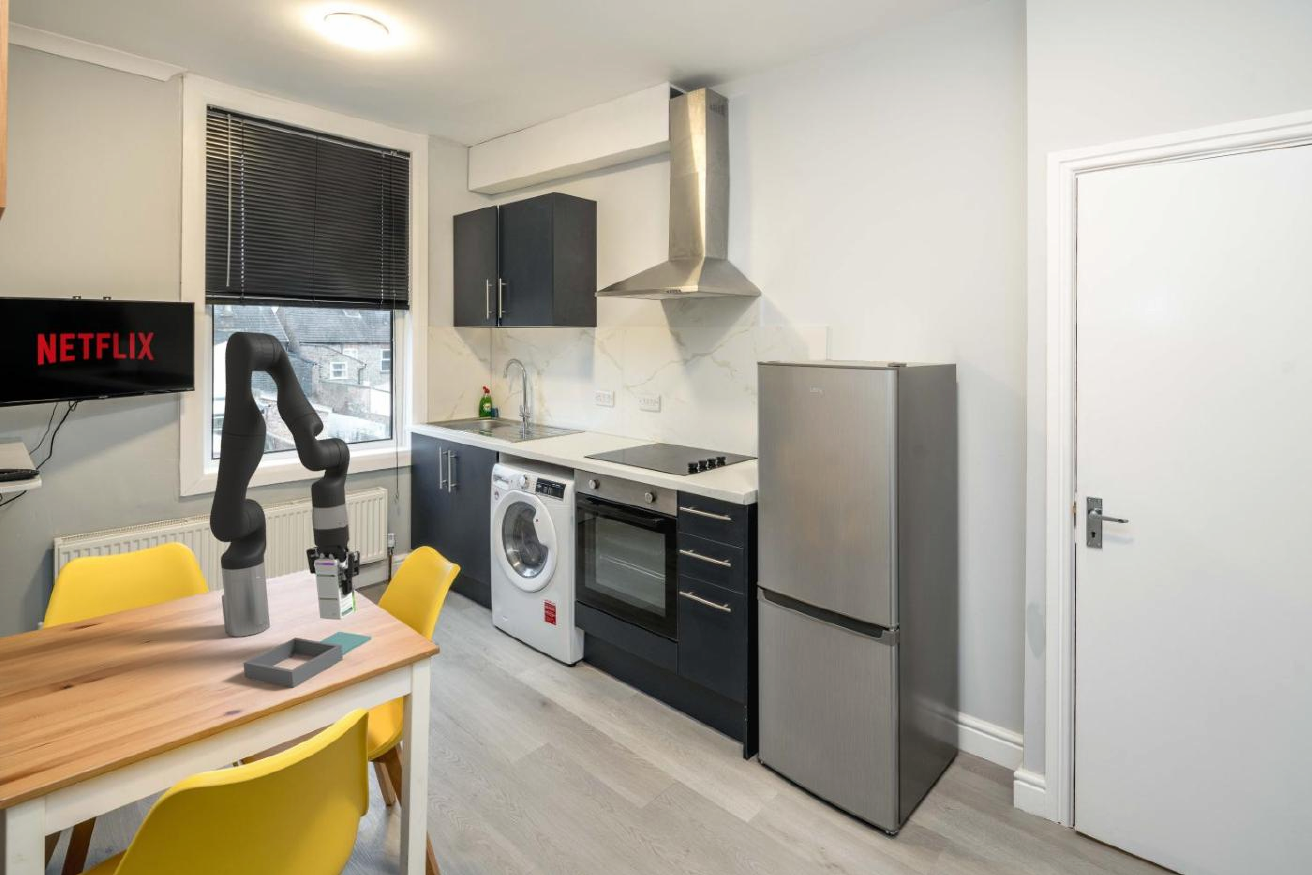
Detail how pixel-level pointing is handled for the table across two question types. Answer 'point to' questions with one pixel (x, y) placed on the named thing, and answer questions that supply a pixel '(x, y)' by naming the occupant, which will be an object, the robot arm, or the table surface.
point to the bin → (324, 658)
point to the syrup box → (332, 590)
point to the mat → (347, 640)
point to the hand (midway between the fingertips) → (336, 592)
